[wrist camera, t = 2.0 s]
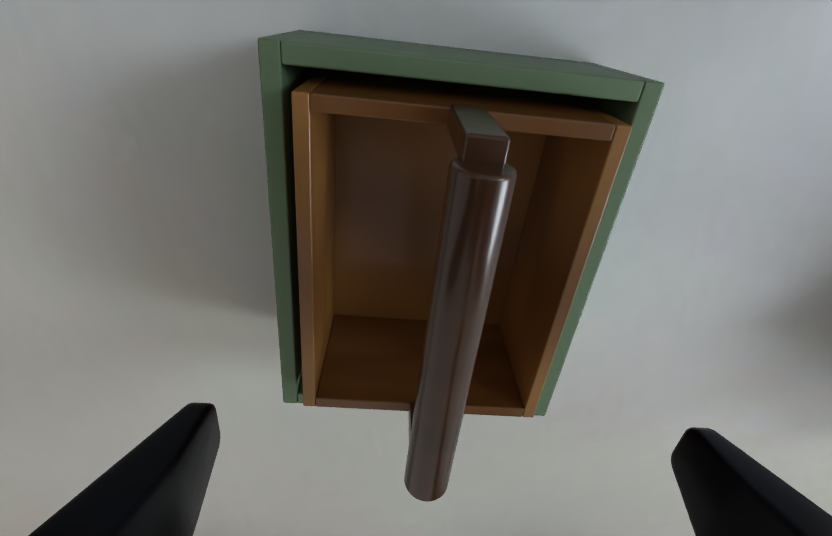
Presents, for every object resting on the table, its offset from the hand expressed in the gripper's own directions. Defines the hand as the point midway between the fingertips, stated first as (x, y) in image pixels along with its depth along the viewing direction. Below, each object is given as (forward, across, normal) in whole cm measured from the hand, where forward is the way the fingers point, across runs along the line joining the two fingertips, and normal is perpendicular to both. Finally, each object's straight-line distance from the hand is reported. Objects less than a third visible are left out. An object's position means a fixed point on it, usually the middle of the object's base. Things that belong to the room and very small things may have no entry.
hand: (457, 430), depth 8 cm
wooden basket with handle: (+10, 0, 0) cm, 10 cm away
